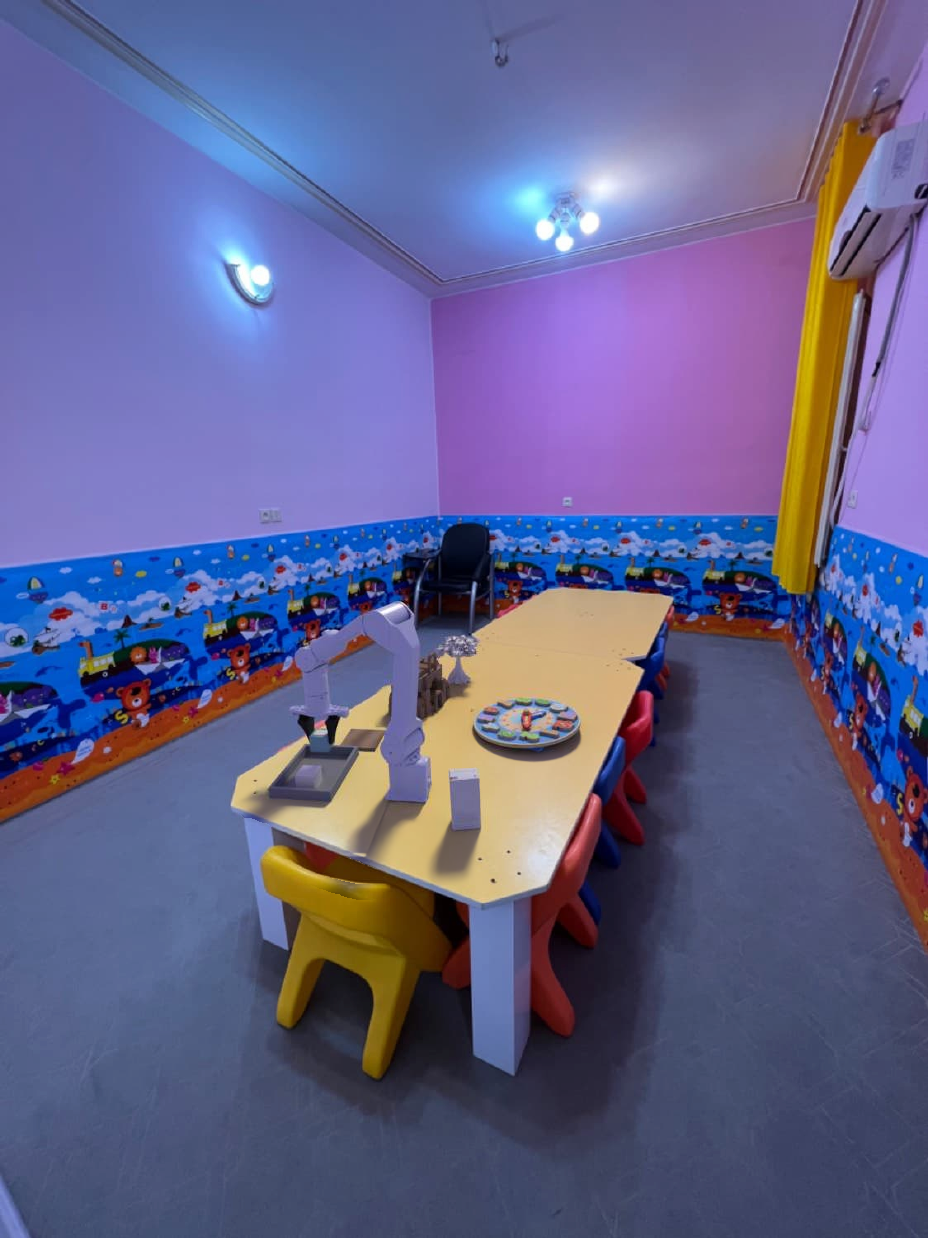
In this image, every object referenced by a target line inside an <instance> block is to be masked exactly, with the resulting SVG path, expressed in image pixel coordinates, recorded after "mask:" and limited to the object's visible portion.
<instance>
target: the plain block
mask: <svg viewBox="0 0 928 1238" xmlns="http://www.w3.org/2000/svg"><path fill="white" fill-rule="evenodd" d="M322 781H323V778H322V769H321V766H317V765H303V766H302V767H301V768H300V769H299V771H298V772H297V773H296V775H295V782H296V788H315V789H317V788H318V787H319V785H320V784H321V782H322Z"/></svg>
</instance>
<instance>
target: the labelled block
mask: <svg viewBox="0 0 928 1238" xmlns="http://www.w3.org/2000/svg"><path fill="white" fill-rule="evenodd" d="M335 741H336V740H335ZM335 741H334V743H333V744H329V740H328V732H327V728H324V727H323V728H321V727H320V728H319V727H316V728H315V730H314V732H313V733H312V734H311V735H310V736H309V740H308V742H310V743H309V744H310V750H311V752H329V750H330V749H331V748H332V746H333V745H335V744H336V742H335Z"/></svg>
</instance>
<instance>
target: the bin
mask: <svg viewBox="0 0 928 1238" xmlns="http://www.w3.org/2000/svg"><path fill="white" fill-rule="evenodd" d="M359 756H360V750H359V747H358V746H347V745H340V744H334V745H333V746H332V748H331V749H330V750H329V752H311V750H310V743H304V744H303V745H302V746H301V748H300V749H298V752H297V753H296V754H295V755H294V756H293V758H292V759H290V761H289V762H288V764H287V765H286V766H285V767H284V768H283V770H282V771H281V772H280V773H279V774H278V776H277V777H276V778H275V779H274V780H273V781H272V783H270V786H268V788H267V791H268V797H269V798H270V799H280V800H281V799H283V800H299V801H301V800H302V801H313V802H314V801H317V802H318V801H319V802H333V800H334V798H335V796H336V794H337V793H338V791H339V789H340V788H341V786H342V784H343V782H344V781H345V779H346V778H347V776H348V774H349V773H350V770H351V769H352V767H354V764H355V762H356V761H357V759H358V757H359ZM303 765H317V766H321V769H322V778H323V781H322V782H321V784H320V785H319V787H318V788H317V789H315V788H296V782H295V775H296V773H297V772H298V771H299V769H300V768H301V767H302V766H303Z"/></svg>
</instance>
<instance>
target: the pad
mask: <svg viewBox="0 0 928 1238" xmlns="http://www.w3.org/2000/svg"><path fill="white" fill-rule="evenodd" d="M385 730H386V729H369V728H367V729H365V728H350V730H349V732H348V733H347V734H346V736H345V737H344V739H343V740H342V741H341V743H340V744H339V745H347V746H358V747H359V751H372V752H375V751H377V749H378V747H379V745H380V744H381V742H382V741H383V739H384V733H385Z"/></svg>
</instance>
